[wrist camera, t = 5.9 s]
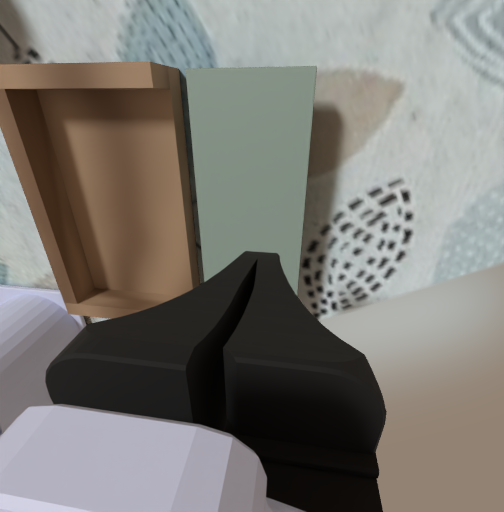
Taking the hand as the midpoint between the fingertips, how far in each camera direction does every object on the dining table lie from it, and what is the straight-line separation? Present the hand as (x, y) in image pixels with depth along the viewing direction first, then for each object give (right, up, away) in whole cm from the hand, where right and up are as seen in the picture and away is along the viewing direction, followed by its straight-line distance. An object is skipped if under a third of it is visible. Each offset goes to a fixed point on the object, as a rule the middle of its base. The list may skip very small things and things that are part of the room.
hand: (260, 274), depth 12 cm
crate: (-9, +5, +9) cm, 13 cm away
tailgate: (-3, +3, +7) cm, 8 cm away
